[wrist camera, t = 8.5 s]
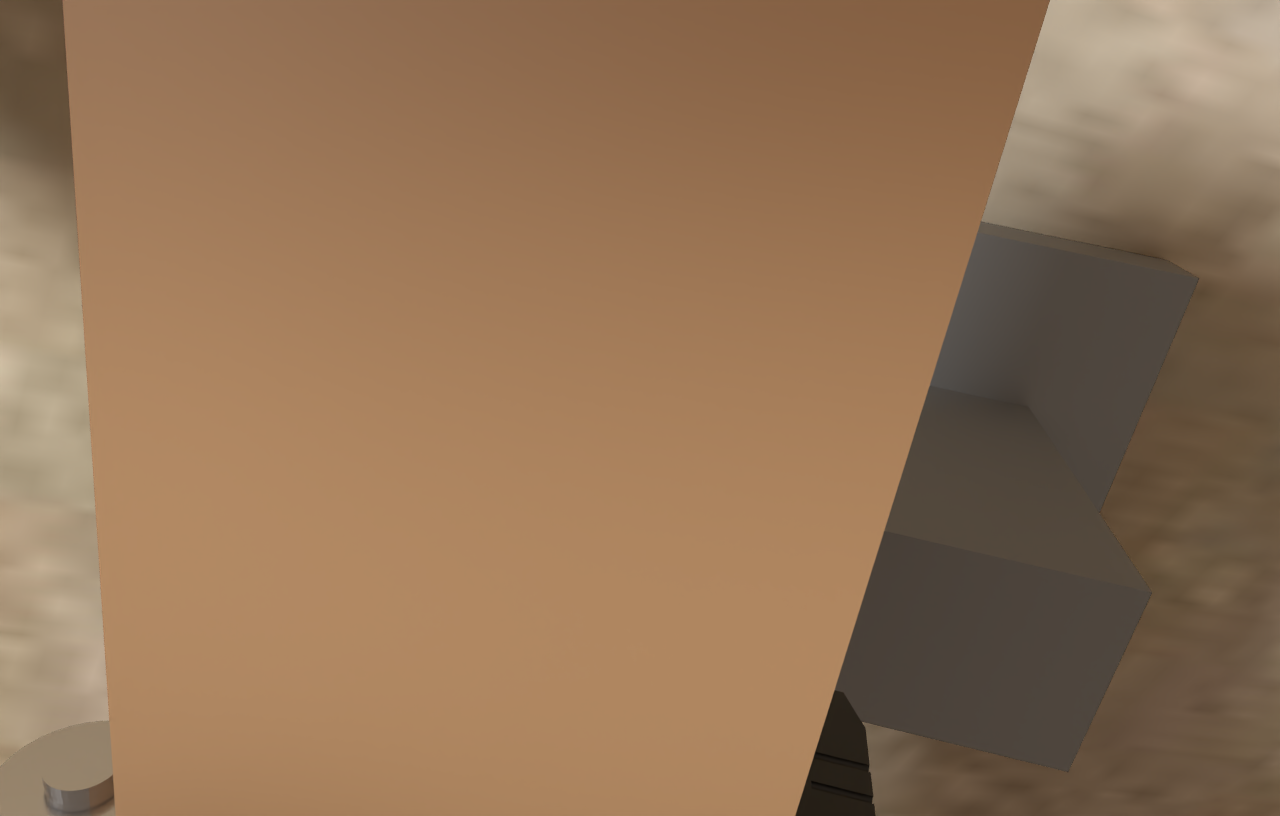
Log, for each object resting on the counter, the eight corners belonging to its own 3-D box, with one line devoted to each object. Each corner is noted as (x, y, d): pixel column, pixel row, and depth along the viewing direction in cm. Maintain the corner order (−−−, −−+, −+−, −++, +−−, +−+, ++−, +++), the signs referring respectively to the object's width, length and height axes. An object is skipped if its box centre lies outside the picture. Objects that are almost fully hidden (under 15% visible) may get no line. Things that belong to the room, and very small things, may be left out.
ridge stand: (1011, 639, 21) (1131, 955, 14) (267, 465, 23) (15, 670, 15) (1166, 259, 18) (1435, 412, 10) (278, 76, 19) (-42, 98, 12)
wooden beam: (520, -381, 8) (-20, -1245, 3) (972, -313, 8) (1398, -1117, 2) (382, 1063, 16) (167, 1606, 10) (610, 1124, 16) (513, 1715, 10)
